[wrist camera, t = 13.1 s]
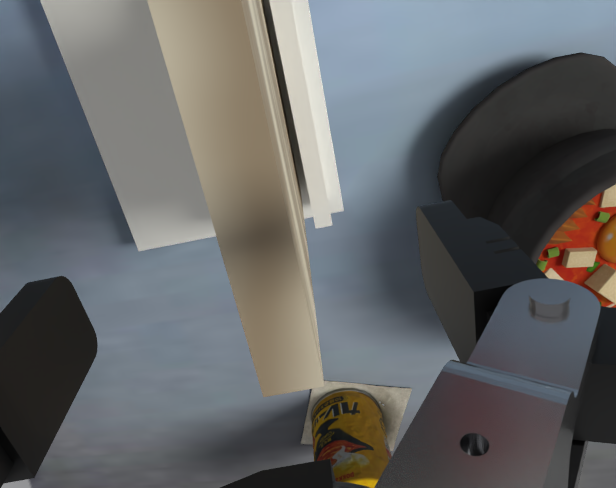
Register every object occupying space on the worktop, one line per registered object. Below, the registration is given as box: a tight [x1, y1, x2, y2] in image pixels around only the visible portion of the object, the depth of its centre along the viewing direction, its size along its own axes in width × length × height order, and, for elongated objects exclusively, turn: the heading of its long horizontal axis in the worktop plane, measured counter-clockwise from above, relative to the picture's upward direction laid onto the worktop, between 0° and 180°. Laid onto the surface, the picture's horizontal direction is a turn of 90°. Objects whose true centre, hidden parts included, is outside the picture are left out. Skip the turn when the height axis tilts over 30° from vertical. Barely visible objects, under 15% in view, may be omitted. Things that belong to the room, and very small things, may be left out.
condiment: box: [301, 381, 412, 488], centre depth 38 cm, size 7×8×12 cm
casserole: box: [437, 53, 616, 308], centre depth 32 cm, size 25×19×8 cm
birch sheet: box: [147, 0, 324, 397], centre depth 21 cm, size 2×12×18 cm, turn 10°
